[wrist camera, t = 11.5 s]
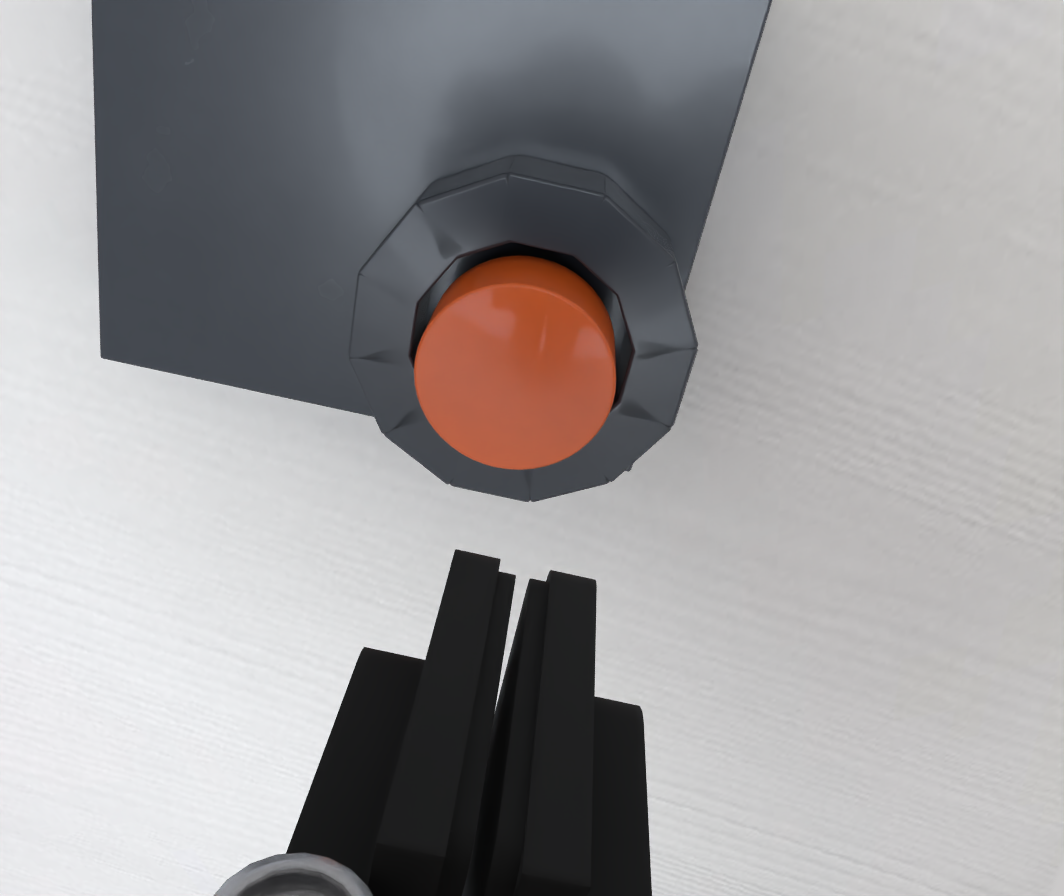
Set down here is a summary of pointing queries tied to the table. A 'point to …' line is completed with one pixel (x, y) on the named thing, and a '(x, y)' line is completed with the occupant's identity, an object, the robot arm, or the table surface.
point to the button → (517, 363)
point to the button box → (407, 191)
